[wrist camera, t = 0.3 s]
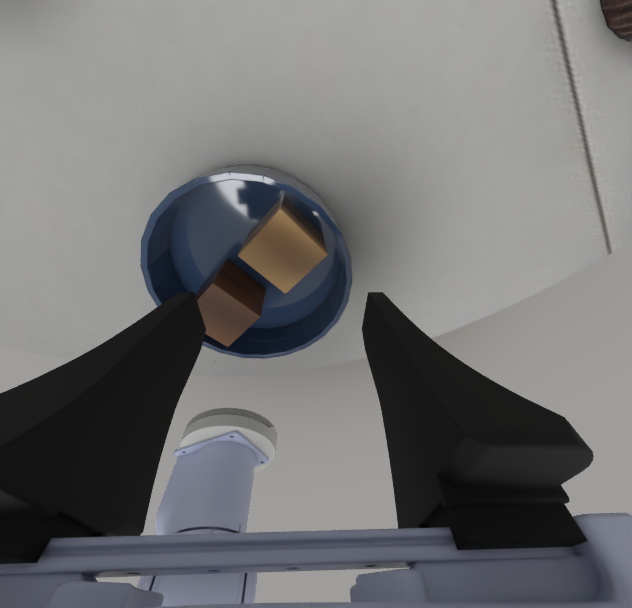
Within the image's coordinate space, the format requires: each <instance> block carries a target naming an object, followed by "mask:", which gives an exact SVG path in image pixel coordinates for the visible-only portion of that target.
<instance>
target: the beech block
mask: <svg viewBox="0 0 632 608" xmlns="http://www.w3.org/2000/svg"><path fill="white" fill-rule="evenodd" d="M327 255H328V254H327V250H326V245H325V241H324V237H323V234H322V233H321V232H320V231H319V230H318V229H317V228H316V227H315V226H314V225H313V224H312V223H311V222H310V221H309V220H308V219H307V218H306V217H305V216H304V215H303V214H302V213H301V212H300V211H299V210H298V209H297V208H296V207H295V206H294V205H293V204H292V203H291V202H290V201H289V200H288V199H287V198H286V197H285V196H282V197H281V198H280V200H279V201H278V202H277V203H276V204H275V205H274V206H273V207H272V209H271V210H270V211H269V212H268V213H267V214H266V215H265V216H264V217H263V219H262V220H261V221H260V222H259V223H258V224H257V225H256V226H255V228H254V229H253V230H252V231H251V232H250V233H249V234H248V236H247V238H246V240H245V242H244V244H243V246H242V248H241V250H240V252H239V254H238V257H240V258H241V259H242V260H243V261H245V262H246V263H247V264H248V265H250V266H251V267H252V268H253V269H255V270H256V271H257V272H258V273H260V274H261V275H262V276H264V277H265V278H266V279H267V280H269V281H270V282H271V283H272V284H274V285H275V286H276V287H277V288H279V289H280V290H281V291H282V292H284V293H285V294H286V293H287V292H288V291H289V290H290V289H291V288H292V287H294V286H295V285H296V284H297V283H298V282H299V281H300V280H301V279H302V278H303V277H304V276H306V275H307V274H308V273H309V272H310V271H311V270H312V269H313V268H314V267H315V266H316V265H317V264H319V263H320V262H321V261H322V260H323V259H324V258H325V257H326V256H327Z"/></svg>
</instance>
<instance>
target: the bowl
mask: <svg viewBox="0 0 632 608" xmlns="http://www.w3.org/2000/svg"><path fill="white" fill-rule="evenodd" d="M282 196H285V197H286V198H287V199H288V200H289V201H290V202H291V203H292V204H293V205H294V206H295V207H296V208H297V209H298V210H299V211H300V212H301V213H302V214H303V215H304V216H305V217H306V218H307V219H308V220H309V221H310V222H311V223H312V224H313V225H314V226H315V227H316V228H317V229H318V230H319V231H320V232H321V233H322V234H323V237H324V241H325V245H326V250H327V254H328V255H327V256H326V257H325V258H324V259H323V260H322V261H321V262H320V263H319V264H317V265H316V266H315V267H314V268H313V269H312V270H311V271H310V272H309V273H308V274H307V275H306V276H304V277H303V278H302V279H301V280H300V281H299V282H298V283H297V284H296V285H295V286H294V287H292V288H291V289H290V290H289V291H288V292H287V293H286V294H285V293H284V292H282V291H281V290H280V289H279V288H277V287H276V286H275V285H274V284H272V283H271V282H270V281H269V280H267V279H266V278H265V277H264V276H262V275H261V274H260V273H258V272H257V271H256V270H255V269H253V268H252V267H251V266H250V265H248V264H247V263H246V262H245V261H243V260H242V259H241V258H240V257H238V254H239V252H240V250H241V248H242V246H243V244H244V242H245V240H246V238H247V236H248V234H249V233H250V232H251V231H252V230H253V229H254V228H255V226H256V225H257V224H258V223H259V222H260V221H261V220H262V219H263V217H264V216H265V215H266V214H267V213H268V212H269V211H270V210H271V209H272V207H273V206H274V205H275V204H276V203H277V202H278V201H279V200H280V198H281V197H282ZM226 259H228V260H229V261H231V262H232V263H233V264H234V265H236V266H237V267H238V268H240V269H241V270H242V271H243V272H245V273H246V274H247V275H249V276H250V277H251V278H252V279H254V280H255V281H256V282H258V283H259V284H260V285H262V286H263V287H264V288H265V289H266V294H265V299H264V303H263V308H262V313H261V317H260V318H259V319H258V320H257V321H256V322H255V323H253V324H252V325H251V326H250V327H249V328H248V329H247V330H246V331H245V332H244V333H243V334H241V335H240V336H239V337H238V338H237V339H236V340H235V341H234V342H233V343H232V344H231V345H230V346H228V347H227V346H225V345H223V344H222V343H220V342H218V341H217V340H215V339H213V338H212V337H210V336H209V335H207V334H205V336H204V340H203V344H202V345H203V346H206V347H208V348H210V349H213V350H215V351H217V352H221V353H224V354H228V355H233V356H237V357H242V358H272V357H278V356H284V355H288V354H291V353H294V352H296V351H299V350H302V349H304V348H306V347H308V346H310V345H311V344H313V343H314V342H316V341H317V340H319V339H320V338H322V337H323V336H325V335H326V333H327V332H328V331H329V330H330V329H331V328H332V327H333V326H334V325H335V324H336V323H337V322H338V320H339V318H340V316H341V314H342V312H343V310H344V309H345V307H346V305H347V303H348V299H349V294H350V289H351V284H352V270H351V260H350V254H349V251H348V249H347V247H346V244H345V242H344V239H343V237H342V234H341V232H340V229H339V227H338V224H337V222H336V220H335V217H334V215H333V214H332V213H331V211H330V210H329V208H328V207H327V205H326V204H325V203H324V202H323V201H322V199H321V198H320V197H319V196H318V195H317V194H316V193H315V192H314V191H313V190H311V189H310V188H309V187H308V186H307V185H305V184H304V183H302V182H301V181H299V180H298V179H296V178H294V177H292V176H290V175H288V174H286V173H284V172H281V171H278V170H274V169H271V168H267V167H261V166H250V165H239V166H232V167H227V168H223V169H218V170H214V171H211V172H209V173H207V174H204V175H202V176H200V177H197V178H195V179H193V180H192V181H190V182H188V183H186V184H184V185H183V186H181V187H179V188H177V189H175V190H174V191H172V192H170V193H169V194H168V195H167V196H166V197H165V199H164V200H163V201H162V202H161V203H160V204H159V206H158V207H157V208H156V209H155V210H154V211H153V212H152V214H151V215H150V218H149V221H148V223H147V226H146V228H145V231H144V234H143V236H142V239H141V269H142V272H143V276H144V279H145V283H146V286H147V290H148V292H149V293H150V295H151V297H152V298H153V300H154V302H155V303H156V305H157V307H158V306H160V305H161V304H163V303H164V302H166V301H167V300H168V299H170V298H171V297H173V296H174V295H176V294H178V293H195V295H196V294H197V292H198V290H199V289H200V288H201V287H202V286H203V285H204V284H205V283H206V281H207V280H208V279H209V278H210V277H211V276H212V275H213V274H214V272H215V271H216V270H217V269H218V268H219V267H220V266H221V265H222V263H223V262H224V261H225V260H226Z"/></svg>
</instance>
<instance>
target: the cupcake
mask: <svg viewBox="0 0 632 608" xmlns="http://www.w3.org/2000/svg"><path fill="white" fill-rule="evenodd" d="M601 5H602V10H603V13H604V15H605V18H606V21H607V25H608V27H609V28H610V29H612V30H613V31H614V32H615V33H616V34H617V35H618V36H619V37H620V38H624V39H627V40H629V41H632V0H601Z"/></svg>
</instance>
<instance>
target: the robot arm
mask: <svg viewBox="0 0 632 608" xmlns="http://www.w3.org/2000/svg"><path fill="white" fill-rule="evenodd" d="M205 332H206V327H205V324H204V321H203V318H202V315H201V311H200V308H199V305H198V302H197V299H196V296H195V293H178V294H176V295H174V296H173V297H171V298H170V299H168V300H167V301H166V302H164V303H163V304H161V305H160V306H158V307H157V308H156V309H154V310H153V311H151V312H150V313H148V314H147V315H146V316H144V317H143V318H141V319H140V320H138V321H137V322H136V323H134V324H132V325H131V326H129V327H128V328H126V329H125V330H123V331H122V332H120V333H119V334H117V335H115V336H114V337H112V338H111V339H109V340H108V341H106V342H104V343H103V344H101V345H99V346H98V347H96V348H94V349H92V350H90V351H89V352H87V353H85V354H83V355H81V356H80V357H78V358H76V359H74V360H72V361H70V362H68V363H66V364H64V365H62V366H60V367H58V368H56V369H54V370H52V371H50V372H48V373H45V374H43V375H41V376H39V377H37V378H35V379H33V380H31V381H29V382H26V383H24V384H22V385H19V386H17V387H15V388H12V389H10V390H8V391H6V392H3V393H0V608H632V516H631V515H630V514H628V513H601V514H582V515H577V516H573V517H572V515H571V514H570V513H569V511H568V509H567V508H566V506H565V505H564V503H567V502H569V497H568V496H567V494H566V492H565V491H564V489H563V488H562V486H561V484H563V483H564V482H566V481H567V480H569V479H571V478H572V477H574V476H575V475H577V474H579V473H580V472H582V471H583V470H585V469H586V468H587V467H588V466H589V465H590V464H591V462H592V461H593V452H592V450H591V449H590V448H589V447H588V445H587V444H586V443H585V442H584V441H583V439H582V438H581V437H580V436H579V434H578V433H577V432H576V431H575V429H574V428H573V427H572V426H571V425H570V423H569V422H568V421H567V420H566V419H565V417H563V416H561V415H559V414H556V413H554V412H552V411H550V410H548V409H546V408H544V407H542V406H540V405H538V404H536V403H533V402H531V401H529V400H527V399H525V398H523V397H521V396H519V395H517V394H516V393H514V392H512V391H510V390H508V389H506V388H504V387H503V386H501V385H499V384H497V383H495V382H494V381H492V380H490V379H489V378H487V377H485V376H483V375H482V374H480V373H479V372H477V371H475V370H474V369H472V368H471V367H469V366H468V365H466V364H464V363H463V362H461V361H460V360H458V359H457V358H455V357H454V356H453V355H451V354H450V353H449V352H447V351H446V350H445V349H443V348H442V347H441V346H439V345H438V344H437V343H435V342H434V341H433V340H432V339H431V338H429V337H428V336H427V335H426V334H425V333H424V332H422V331H421V330H420V329H419V328H418V327H417V326H416V325H415V324H414V323H413V322H411V321H410V320H409V319H408V318H407V317H406V316H405V315H404V314H403V313H402V312H401V311H400V310H399V309H398V308H397V307H396V306H395V305H394V304H393V303H392V302H391V300H390V299H389V298H388V297H387V296H386V295H385V294H384V293H383V292H368V296H367V302H366V308H365V314H364V320H363V326H362V332H363V339H364V345H365V350H366V354H367V358H368V361H369V365H370V368H371V372H372V375H373V379H374V382H375V386H376V389H377V393H378V396H379V401H380V405H381V410H382V416H383V422H384V427H385V433H386V439H387V446H388V451H389V458H390V466H391V473H392V480H393V487H394V495H395V503H396V511H397V520H398V529H368V530H332V531H298V532H296V531H295V532H258V533H246V528H247V520H248V513H249V506H250V498H251V491H252V483H253V476H254V469H255V466H258V465H262V464H265V463H268V462H269V457H267V456H266V455H265V454H264V453H263V452H262V451H261V450H260V449H258V448H257V447H256V446H255V445H254V444H253V443H252V442H251V441H249V440H248V439H247V438H246V437H245V436H244V435H243V434H242V433H240V432H239V431H237V430H234V431H231V432H228V433H225V434H222V435H219V436H216V437H213V438H210V439H207V440H204V441H201V442H198V443H195V444H192V445H189V446H185V447H182V448H179V449H176V450H175V451H174V455H175V456H176V457H178V458H177V461H176V463H175V466H174V469H173V471H172V474H171V476H170V479H169V482H168V484H167V487H166V490H165V493H164V495H163V498H162V500H161V503H160V506H159V508H158V512H157V516H156V535H153V536H152V535H150V536H140V534H141V533H142V532H143V530H144V525H145V520H146V515H147V511H148V506H149V502H150V498H151V493H152V489H153V484H154V481H155V477H156V473H157V469H158V465H159V461H160V457H161V454H162V451H163V447H164V444H165V440H166V437H167V433H168V430H169V427H170V424H171V421H172V418H173V414H174V411H175V408H176V406H177V403H178V400H179V398H180V396H181V394H182V391H183V389H184V387H185V385H186V382H187V380H188V378H189V376H190V373H191V371H192V369H193V367H194V364H195V362H196V360H197V357H198V355H199V353H200V350H201V347H202V344H203V340H204V336H205ZM406 567H407V568H409V569H397V570H389V571H382V572H375V573H368V574H362V575H358V577H357V579H356V585H354V586H352V587H351V589H350V595H351V602H347V603H346V602H345V603H344V602H343V603H342V602H341V603H340V602H338V603H254V600H255V592H256V581H257V572H284V571H312V570H313V571H315V570H345V569H346V570H347V569H377V568H378V569H379V568H406ZM125 576H126V577H128V576H141V578H140V580H139V583H138V586H137V588H136V587H134V586H133V585H131V584H129V583H110V582H97V580H96V577H125Z"/></svg>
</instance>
